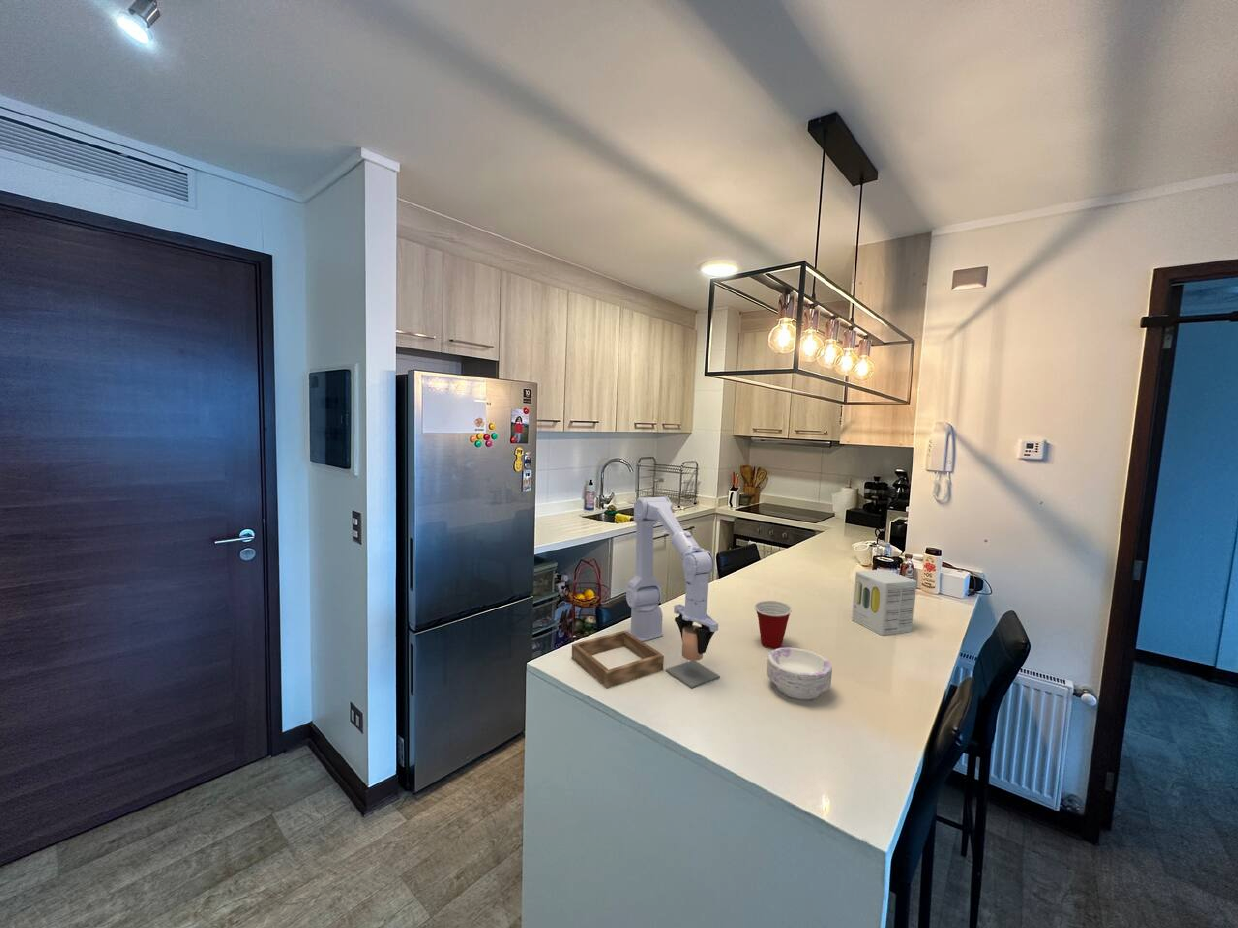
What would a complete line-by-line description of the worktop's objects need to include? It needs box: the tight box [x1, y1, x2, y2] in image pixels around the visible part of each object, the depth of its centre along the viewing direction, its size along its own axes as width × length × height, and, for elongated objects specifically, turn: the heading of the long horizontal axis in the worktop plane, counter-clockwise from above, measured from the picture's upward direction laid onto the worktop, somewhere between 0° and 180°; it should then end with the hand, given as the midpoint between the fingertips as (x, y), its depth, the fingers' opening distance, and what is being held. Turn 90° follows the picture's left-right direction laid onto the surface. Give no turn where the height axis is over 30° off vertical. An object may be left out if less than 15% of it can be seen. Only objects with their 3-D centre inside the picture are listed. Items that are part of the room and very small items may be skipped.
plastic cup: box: [754, 600, 793, 650], centre depth 147 cm, size 11×11×12 cm
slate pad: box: [665, 660, 721, 690], centre depth 128 cm, size 10×10×1 cm
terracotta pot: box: [681, 624, 704, 662], centre depth 127 cm, size 6×6×7 cm
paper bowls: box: [766, 647, 833, 701], centre depth 122 cm, size 15×15×8 cm
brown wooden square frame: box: [571, 630, 665, 689], centre depth 132 cm, size 18×18×4 cm
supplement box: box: [851, 568, 917, 636], centre depth 164 cm, size 13×13×18 cm
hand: (693, 648), depth 127 cm, fingers closed on terracotta pot, 5 cm apart
